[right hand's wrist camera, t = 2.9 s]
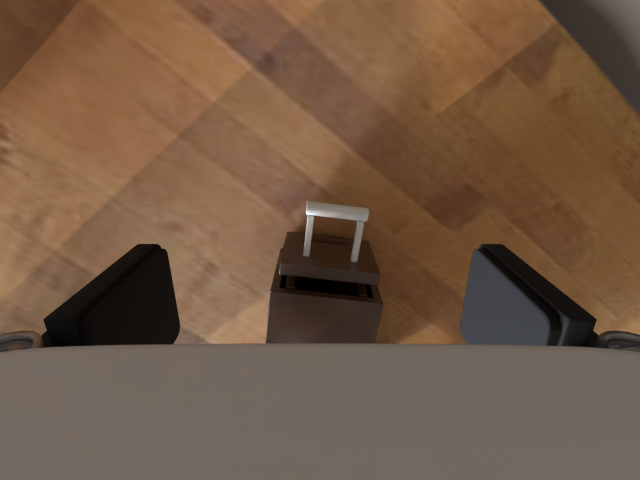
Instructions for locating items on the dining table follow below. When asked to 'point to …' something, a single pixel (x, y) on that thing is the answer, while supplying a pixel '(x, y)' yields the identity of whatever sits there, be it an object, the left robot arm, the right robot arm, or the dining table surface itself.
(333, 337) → the cabinet
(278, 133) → the dining table surface
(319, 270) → the drawer
